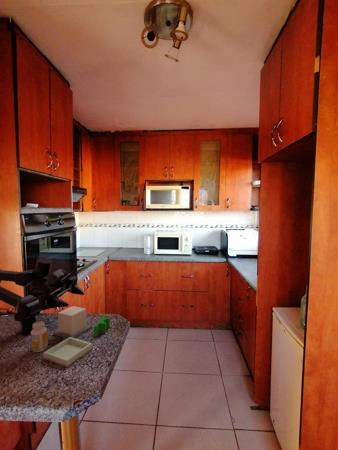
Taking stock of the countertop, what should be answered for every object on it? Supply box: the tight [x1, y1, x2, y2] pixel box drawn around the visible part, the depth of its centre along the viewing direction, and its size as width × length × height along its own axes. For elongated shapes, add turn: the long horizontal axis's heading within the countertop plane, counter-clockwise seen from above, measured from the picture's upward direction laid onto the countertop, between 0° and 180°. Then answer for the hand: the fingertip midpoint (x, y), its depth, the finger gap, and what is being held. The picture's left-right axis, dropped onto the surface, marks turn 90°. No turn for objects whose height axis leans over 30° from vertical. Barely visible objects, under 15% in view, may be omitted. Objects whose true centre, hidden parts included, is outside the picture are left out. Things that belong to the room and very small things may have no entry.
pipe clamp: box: [93, 314, 111, 338], centre depth 106 cm, size 11×4×5 cm, turn 173°
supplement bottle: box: [30, 320, 49, 353], centre depth 92 cm, size 5×5×10 cm
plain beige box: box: [52, 305, 93, 339], centre depth 105 cm, size 11×11×9 cm
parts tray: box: [42, 337, 94, 368], centre depth 88 cm, size 12×12×2 cm
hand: (76, 299), depth 98 cm, fingers open, 9 cm apart
